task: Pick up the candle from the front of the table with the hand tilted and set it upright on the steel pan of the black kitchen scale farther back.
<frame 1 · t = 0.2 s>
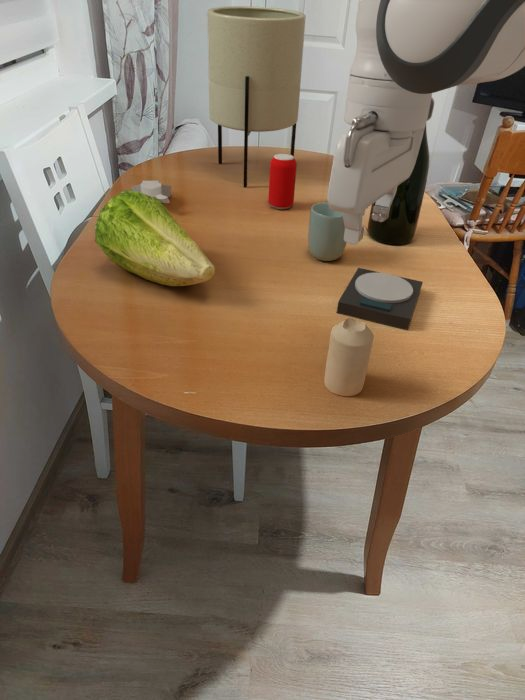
hand: (366, 230, 64), 21 cm above the table, tool pointing down, fingers open, 8 cm apart
dark wine bottle: (389, 237, 115), on the table
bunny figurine: (152, 204, 124), on the table
scale: (380, 302, 91), on the table
beverage can: (280, 207, 127), on the table
planter: (251, 175, 146), on the table
lettuce: (164, 279, 94), on the table
candle: (343, 385, 72), on the table
cup: (325, 257, 105), on the table
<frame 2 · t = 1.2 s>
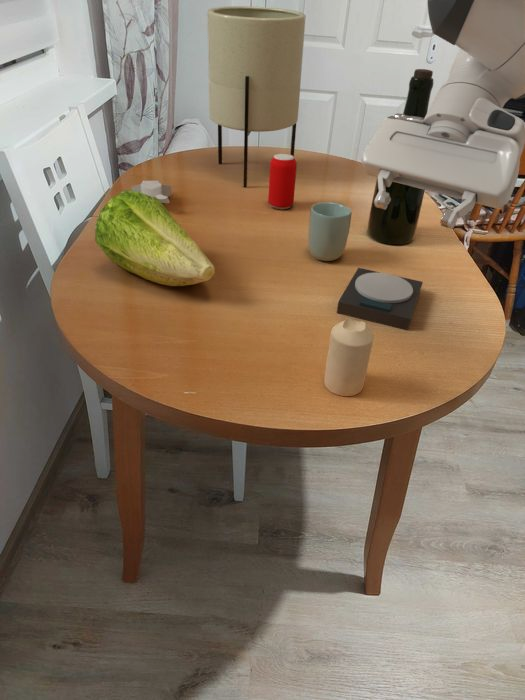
hand: (411, 215, 68), 21 cm above the table, tool tilted 45°, fingers open, 8 cm apart
nothing on the table moved.
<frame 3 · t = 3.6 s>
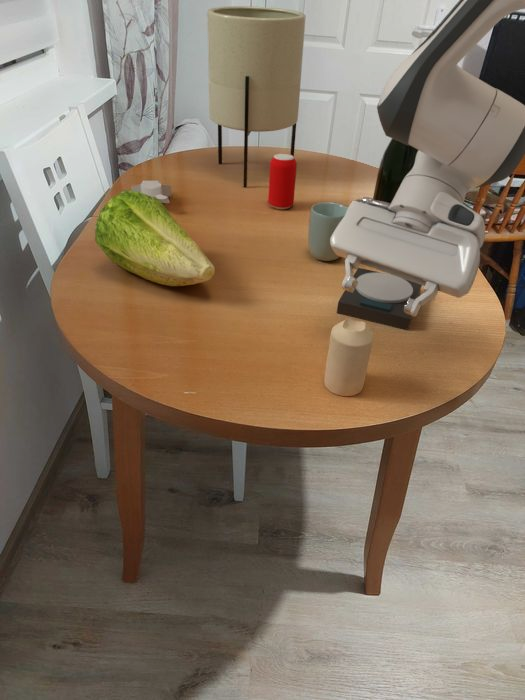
hand: (376, 301, 70), 11 cm above the table, tool tilted 45°, fingers open, 8 cm apart
nothing on the table moved.
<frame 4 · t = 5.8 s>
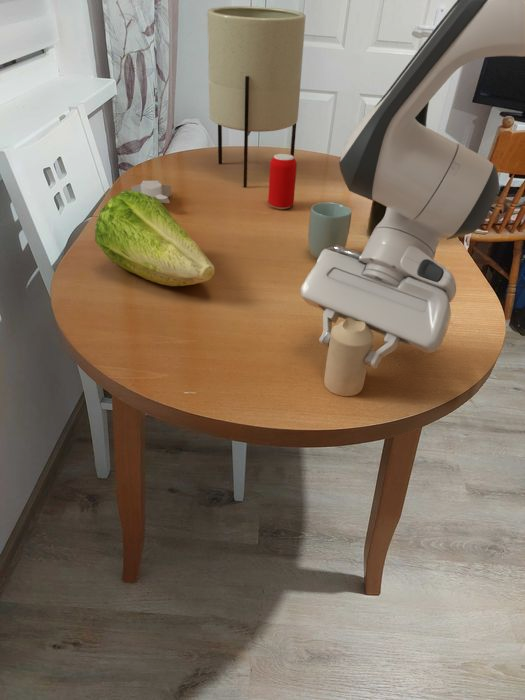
hand: (346, 355, 69), 5 cm above the table, tool tilted 45°, fingers closed on candle, 5 cm apart
candle: (343, 385, 72), on the table, touching gripper
everything else where it was.
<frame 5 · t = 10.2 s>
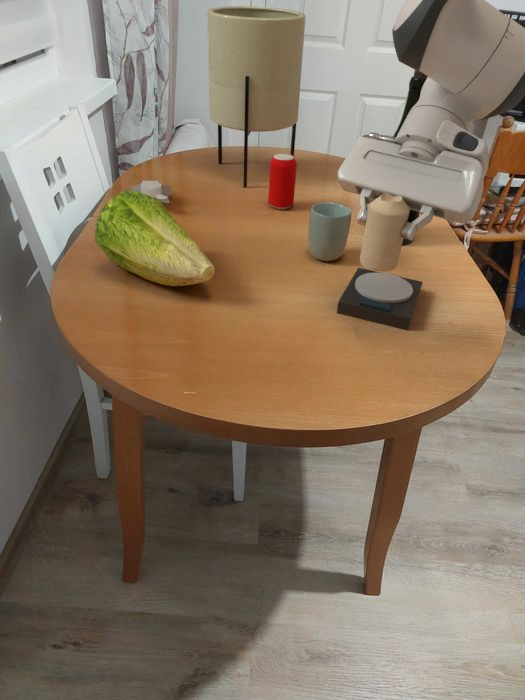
hand: (383, 230, 72), 18 cm above the table, tool tilted 45°, fingers closed on candle, 5 cm apart
candle: (377, 264, 76), point 12 cm above the table, touching gripper
everything else where it was.
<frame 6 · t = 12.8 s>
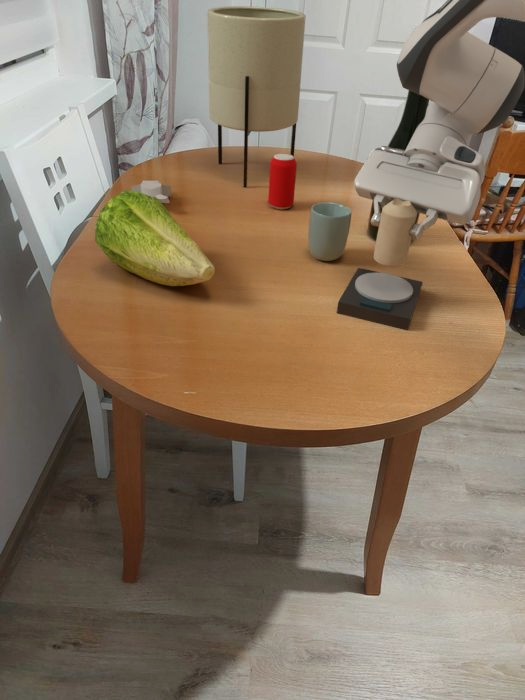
hand: (394, 230, 84), 13 cm above the table, tool tilted 45°, fingers closed on candle, 5 cm apart
candle: (389, 260, 88), point 8 cm above the table, touching gripper
everything else where it was.
when the fingers open (8 cm above the table, at t = 14.7 s): candle stays where it is, resting on scale.
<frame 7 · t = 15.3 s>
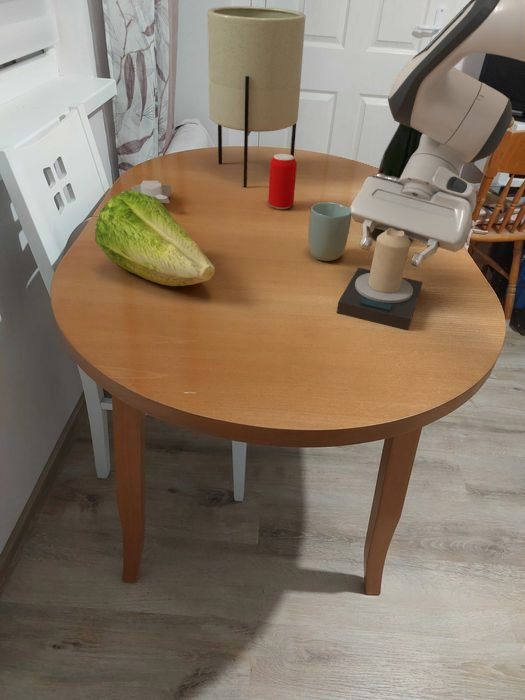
hand: (388, 256, 87), 9 cm above the table, tool tilted 45°, fingers open, 8 cm apart
candle: (383, 286, 90), point 3 cm above the table, touching scale
everything else where it was.
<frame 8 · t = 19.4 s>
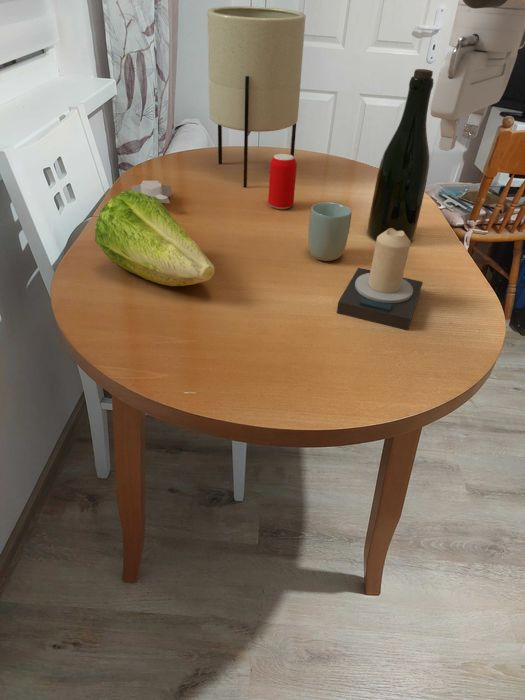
hand: (457, 143, 76), 27 cm above the table, tool pointing down, fingers open, 8 cm apart
nothing on the table moved.
at the end: candle 0.0 cm from the target spot on the scale, point 2.6 cm above the scale's base; candle tilted 0°; the gripper is holding nothing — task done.
